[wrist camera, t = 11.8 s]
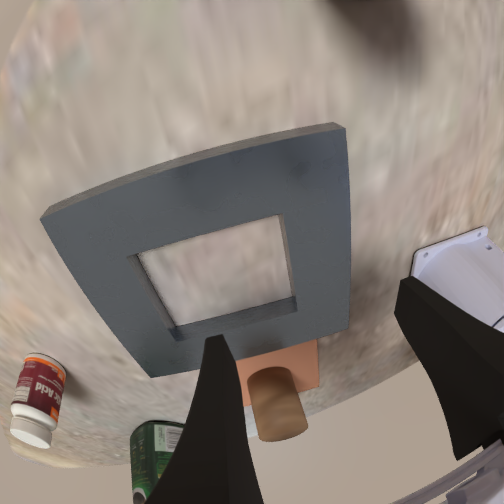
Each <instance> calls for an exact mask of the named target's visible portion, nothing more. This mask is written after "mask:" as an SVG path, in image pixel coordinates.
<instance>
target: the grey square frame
mask: <svg viewBox="0 0 504 504" xmlns="http://www.w3.org/2000/svg"><path fill="white" fill-rule="evenodd" d="M277 214H278V215H279V221H280V226H281V232H282V238H283V244H284V250H285V256H286V262H287V268H288V274H289V280H290V286H291V292H292V297H290V298H287V299H283V300H280V301H276V302H272V303H269V304H265V305H261V306H258V307H254V308H250V309H246V310H243V311H239V312H235V313H231V314H227V315H223V316H219V317H215V318H211V319H207V320H203V321H199V322H195V323H191V324H186V325H182V326H178V327H176V326H175V324H174V323H173V321H172V319H171V318H170V316H169V314H168V312H167V311H166V309H165V307H164V305H163V304H162V302H161V300H160V298H159V297H158V295H157V293H156V291H155V289H154V287H153V286H152V284H151V282H150V280H149V278H148V276H147V274H146V273H145V271H144V269H143V267H142V265H141V263H140V261H139V259H138V257H137V255H136V253H140V252H143V251H147V250H150V249H153V248H157V247H160V246H164V245H167V244H171V243H174V242H178V241H181V240H185V239H188V238H192V237H195V236H199V235H202V234H206V233H210V232H213V231H217V230H221V229H224V228H228V227H232V226H235V225H239V224H243V223H246V222H250V221H254V220H258V219H262V218H265V217H269V216H273V215H277ZM40 221H41V223H42V225H43V226H44V228H45V230H46V232H47V234H48V236H49V237H50V239H51V241H52V243H53V244H54V246H55V248H56V249H57V251H58V253H59V254H60V256H61V258H62V259H63V261H64V263H65V264H66V266H67V268H68V269H69V271H70V272H71V274H72V275H73V277H74V278H75V280H76V282H77V283H78V285H79V286H80V288H81V289H82V291H83V292H84V293H85V295H86V296H87V298H88V299H89V301H90V302H91V304H92V305H93V306H94V308H95V309H96V311H97V312H98V313H99V315H100V316H101V317H102V319H103V320H104V321H105V323H106V324H107V325H108V327H109V328H110V329H111V331H112V332H113V333H114V335H115V336H116V337H117V338H118V340H119V341H120V342H121V343H122V345H123V346H124V347H125V348H126V350H127V351H128V352H129V353H130V354H131V356H132V357H133V358H134V359H135V360H136V361H137V363H138V364H139V365H140V366H141V367H142V368H143V370H144V371H145V372H146V373H147V374H148V375H149V376H150V378H154V377H160V376H166V375H171V374H177V373H182V372H187V371H192V370H197V369H200V368H201V363H202V358H203V351H204V344H205V339H206V338H207V337H211V336H216V335H220V334H223V336H224V338H225V340H226V342H227V345H228V347H229V349H230V351H231V353H232V355H233V357H234V360H235V361H238V360H242V359H246V358H250V357H254V356H258V355H262V354H265V353H269V352H273V351H276V350H280V349H284V348H287V347H291V346H294V345H298V344H301V343H304V342H308V341H311V340H314V339H317V338H321V337H324V336H327V335H330V334H333V333H336V332H339V331H342V330H345V329H348V325H349V307H350V281H351V212H350V185H349V167H348V153H347V141H346V129H345V128H344V127H342V126H340V125H338V124H336V123H334V122H331V123H325V124H319V125H314V126H308V127H302V128H297V129H292V130H287V131H282V132H277V133H273V134H268V135H263V136H259V137H255V138H250V139H246V140H242V141H238V142H234V143H230V144H226V145H222V146H218V147H215V148H211V149H207V150H204V151H200V152H197V153H193V154H190V155H187V156H183V157H180V158H177V159H173V160H170V161H167V162H164V163H161V164H158V165H155V166H152V167H149V168H146V169H143V170H140V171H137V172H134V173H131V174H129V175H126V176H123V177H120V178H118V179H115V180H112V181H110V182H107V183H104V184H102V185H99V186H97V187H94V188H92V189H89V190H87V191H84V192H82V193H79V194H77V195H75V196H72V197H70V198H68V199H65V200H63V201H61V202H59V203H56V204H54V205H52V206H50V207H49V208H48V209H47V210H46V211H45V213H44V214H43V215H42V216H41V218H40Z"/></svg>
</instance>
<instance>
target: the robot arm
mask: <svg viewBox="0 0 504 504" xmlns="http://www.w3.org/2000/svg"><path fill="white" fill-rule="evenodd" d="M487 233H488V228H487V227H486V226H483V227H481V228H478V229H475V230H473V231H470V232H467V233H465V234H462V235H459V236H456V237H454V238H451V239H448V240H445V241H443V242H440V243H437V244H434V245H431V246H428V247H426V248H423V249H420V250H418V251H417V252H416V253H415V255H414V260H413V266H412V271H411V276H410V277H407V278H405V279H402V280H400V285H399V291H398V296H397V301H396V306H395V311H394V315H395V317H396V319H397V321H398V323H399V326H400V328H401V330H402V332H403V334H404V336H405V337H406V339H407V341H408V342H409V344H410V345H411V347H412V349H413V350H414V352H415V354H416V355H417V357H418V359H419V360H420V362H421V363H422V365H423V367H424V368H425V370H426V372H427V374H428V376H429V378H430V379H431V382H432V384H433V386H434V388H435V391H436V393H437V396H438V398H439V401H440V404H441V407H442V409H443V412H444V415H445V419H446V422H447V426H448V429H449V433H450V437H451V442H452V446H453V452H454V455H455V458H456V460H457V461H458V460H460V459H462V458H463V457H465V456H466V455H468V454H470V453H471V452H473V451H474V450H475V449H477V448H479V447H480V446H481V445H482V447H483V449H484V450H483V451H482V452H481V453H479V454H478V455H476V456H475V457H474V458H472V459H470V460H469V461H467V462H466V463H465V464H463V465H461V466H460V467H458V468H457V469H455V470H453V471H452V472H450V473H448V474H447V475H445V476H443V477H442V478H440V479H438V480H436V481H435V482H433V483H431V484H429V485H427V486H426V487H424V488H422V489H420V490H418V491H416V492H414V493H412V494H410V495H408V496H406V497H404V498H402V499H399V500H397V501H395V502H393V503H390V504H424V503H426V502H427V501H429V500H431V499H433V498H435V497H437V496H439V495H440V494H442V493H444V492H445V491H447V490H449V489H450V488H452V487H454V486H455V485H457V484H458V483H460V482H461V481H463V480H465V479H466V478H467V477H469V476H471V475H472V474H474V473H475V472H476V471H477V474H476V476H474V477H472V478H470V479H468V480H466V481H465V482H463V483H461V484H460V485H458V486H457V487H455V488H454V489H453V490H451V491H450V492H448V493H447V494H446V498H447V500H445V501H444V502H442V503H440V504H504V252H503V251H502V250H501V249H500V248H499V247H498V246H497V245H496V244H495V243H493V242H492V241H491V240H490V239H489V238H488V237H487ZM144 504H264V503H263V499H262V495H261V492H260V488H259V485H258V481H257V477H256V473H255V470H254V466H253V462H252V458H251V453H250V449H249V445H248V439H247V432H246V424H245V415H244V406H243V398H242V389H241V383H240V379H239V374H238V370H237V365H236V362H235V360H234V357H233V355H232V353H231V351H230V349H229V347H228V345H227V342H226V340H225V338H224V336H223V334H220V335H216V336H211V337H207V338H206V339H205V344H204V351H203V358H202V363H201V368H200V373H199V377H198V381H197V386H196V390H195V394H194V397H193V400H192V404H191V407H190V410H189V414H188V417H187V420H186V423H185V425H184V428H183V431H182V433H181V436H180V438H179V441H178V443H177V445H176V447H175V450H174V452H173V454H172V456H171V458H170V460H169V462H168V464H167V466H166V468H165V470H164V471H163V473H162V475H161V477H160V479H159V481H158V482H157V484H156V486H155V487H154V489H153V490H152V492H151V493H150V495H149V496H148V498H147V499H146V501H145V502H144Z"/></svg>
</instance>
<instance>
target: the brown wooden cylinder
mask: <svg viewBox="0 0 504 504" xmlns="http://www.w3.org/2000/svg"><path fill="white" fill-rule="evenodd" d="M247 386H248V391H249V396H250V400H251V405H252V409H253V413H254V418H255V422H256V427H257V431H258V435H259V439H260V440H262V441H266V442H274V441H281V440H286V439H289V438H292V437H295V436H297V435H299V434H301V433H303V432H304V431H305V430H307V428H308V423H307V420H306V417H305V414H304V411H303V408H302V405H301V402H300V399H299V396H298V393H297V390H296V387H295V383H294V380H293V377H292V374H291V372H290V370H289V369H287V368H285V367H278V366H276V367H268V368H264V369H261V370H259V371H257V372H255V373H253V374H252V375H251V376H250V377H249V378H248V380H247Z"/></svg>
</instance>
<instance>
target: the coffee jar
mask: <svg viewBox="0 0 504 504" xmlns="http://www.w3.org/2000/svg"><path fill="white" fill-rule="evenodd" d="M183 428H184V426H183V425H181V424H177V423H172V422H148V423H145V424H143V425H141V426H140V427H138V428H137V429H136V430H135V431H134V432H133V433H132V435H131V437H130V457H131V473H132V490H133V503H134V504H144V502H145V501H146V499H147V498H148V496H149V495H150V493H151V492H152V490H153V489H154V487H155V486H156V484H157V482H158V481H159V479H160V477H161V475H162V473H163V471H164V470H165V468H166V466H167V464H168V462H169V460H170V458H171V456H172V454H173V452H174V450H175V447H176V445H177V443H178V441H179V438H180V436H181V433H182V431H183Z"/></svg>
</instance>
